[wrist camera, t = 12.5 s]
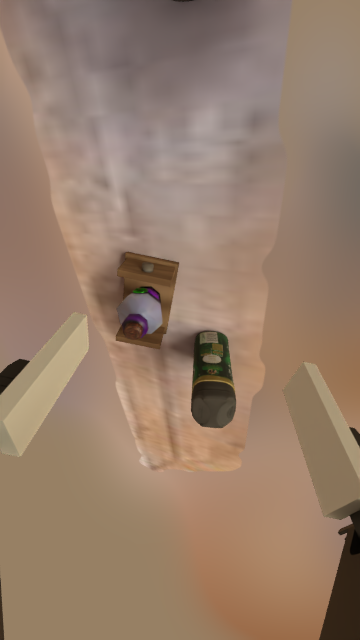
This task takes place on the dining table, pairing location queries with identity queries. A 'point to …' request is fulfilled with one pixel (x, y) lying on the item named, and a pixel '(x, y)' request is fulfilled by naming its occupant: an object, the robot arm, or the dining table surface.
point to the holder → (153, 274)
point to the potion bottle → (140, 312)
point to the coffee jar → (212, 381)
